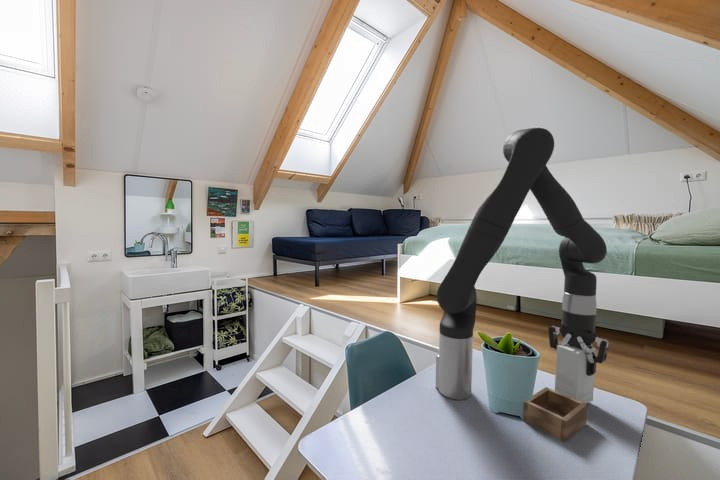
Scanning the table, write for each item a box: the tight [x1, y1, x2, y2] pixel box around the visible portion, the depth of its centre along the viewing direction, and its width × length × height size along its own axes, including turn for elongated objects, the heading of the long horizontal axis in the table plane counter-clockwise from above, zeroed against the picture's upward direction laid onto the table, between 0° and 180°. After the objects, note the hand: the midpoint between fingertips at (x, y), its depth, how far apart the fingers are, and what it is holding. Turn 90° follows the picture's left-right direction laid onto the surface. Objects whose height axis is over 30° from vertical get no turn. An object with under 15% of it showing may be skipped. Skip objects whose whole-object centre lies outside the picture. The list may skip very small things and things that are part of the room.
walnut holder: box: [522, 386, 588, 444], centre depth 77 cm, size 10×12×5 cm
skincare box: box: [554, 344, 597, 404], centre depth 85 cm, size 8×6×15 cm
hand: (575, 369), depth 85 cm, fingers closed on skincare box, 6 cm apart
